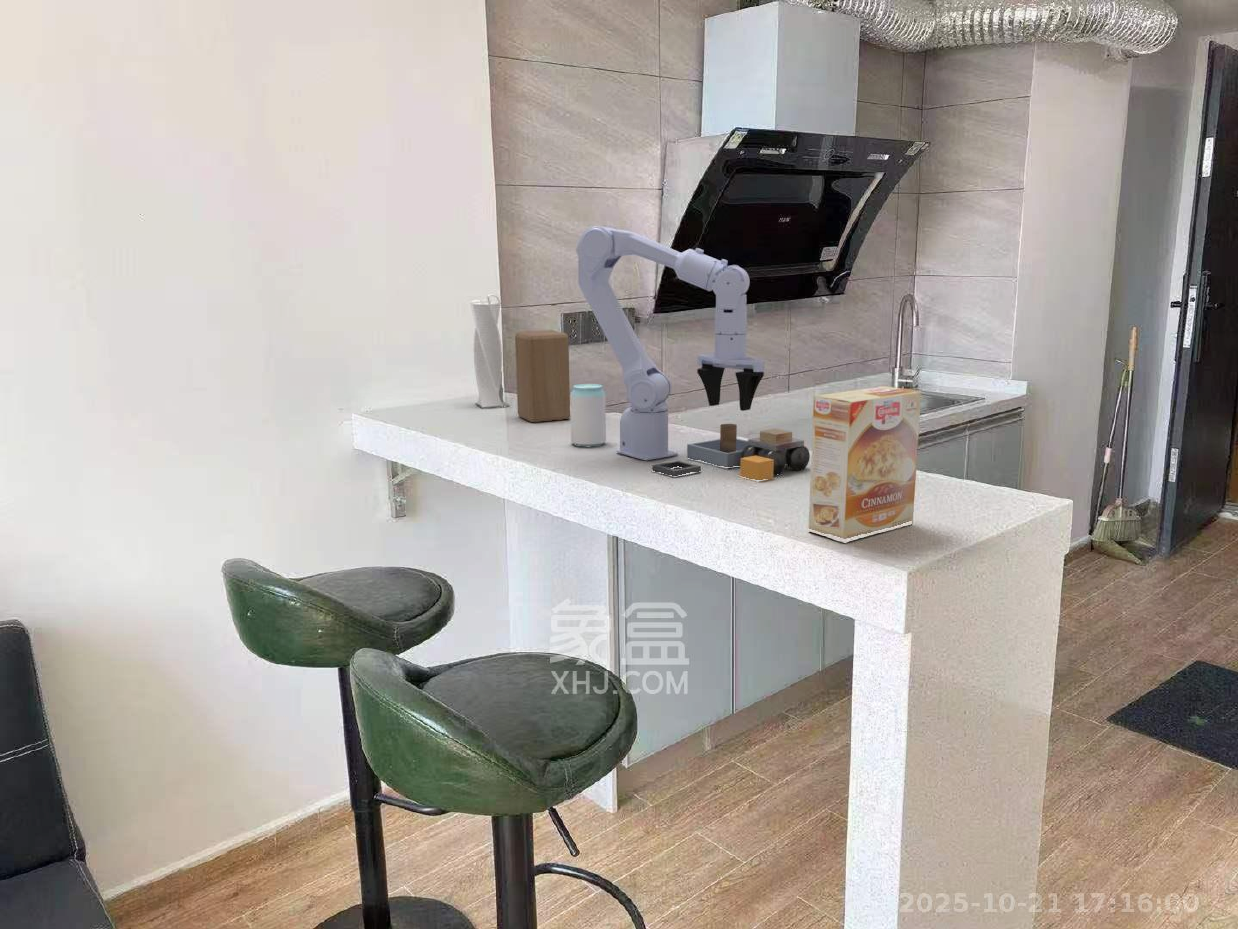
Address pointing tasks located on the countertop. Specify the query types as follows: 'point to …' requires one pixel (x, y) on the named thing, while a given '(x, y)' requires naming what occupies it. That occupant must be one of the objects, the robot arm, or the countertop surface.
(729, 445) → the pin
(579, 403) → the can
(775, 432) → the trolley
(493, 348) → the skyscraper
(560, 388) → the block
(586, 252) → the robot arm
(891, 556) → the countertop surface
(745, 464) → the block
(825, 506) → the coffeecake box
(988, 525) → the countertop surface
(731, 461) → the tray
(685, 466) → the socket ring
